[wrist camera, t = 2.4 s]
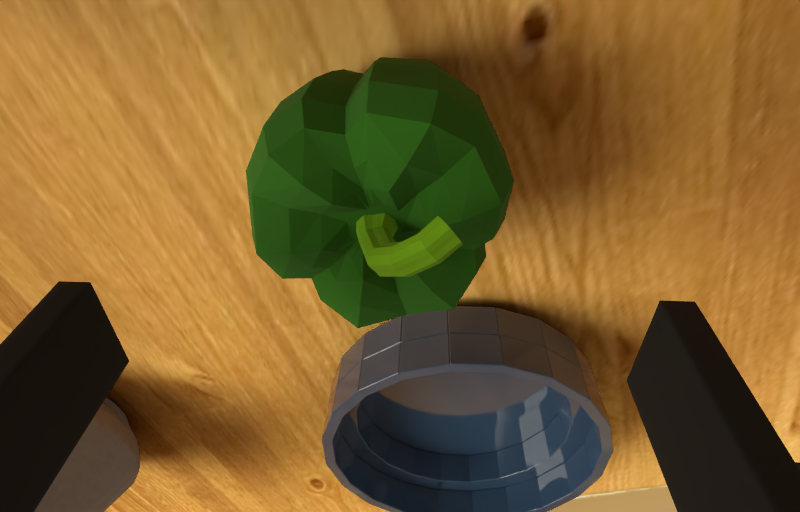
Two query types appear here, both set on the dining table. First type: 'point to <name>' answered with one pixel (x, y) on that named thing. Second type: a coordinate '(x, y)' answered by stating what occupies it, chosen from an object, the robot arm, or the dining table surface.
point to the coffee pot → (96, 466)
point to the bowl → (466, 415)
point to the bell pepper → (379, 189)
